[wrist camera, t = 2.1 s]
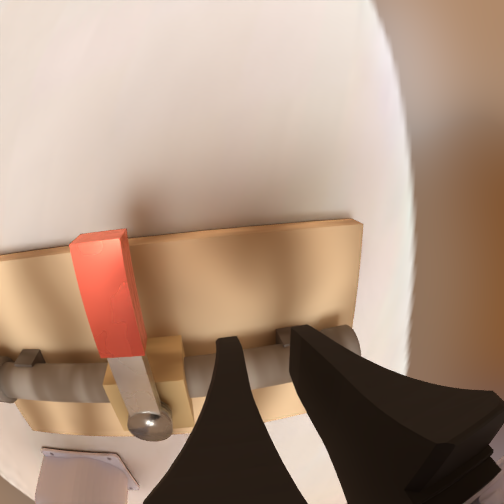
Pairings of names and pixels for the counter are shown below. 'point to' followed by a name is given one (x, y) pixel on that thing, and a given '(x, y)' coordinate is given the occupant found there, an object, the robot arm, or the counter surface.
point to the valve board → (177, 320)
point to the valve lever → (120, 327)
